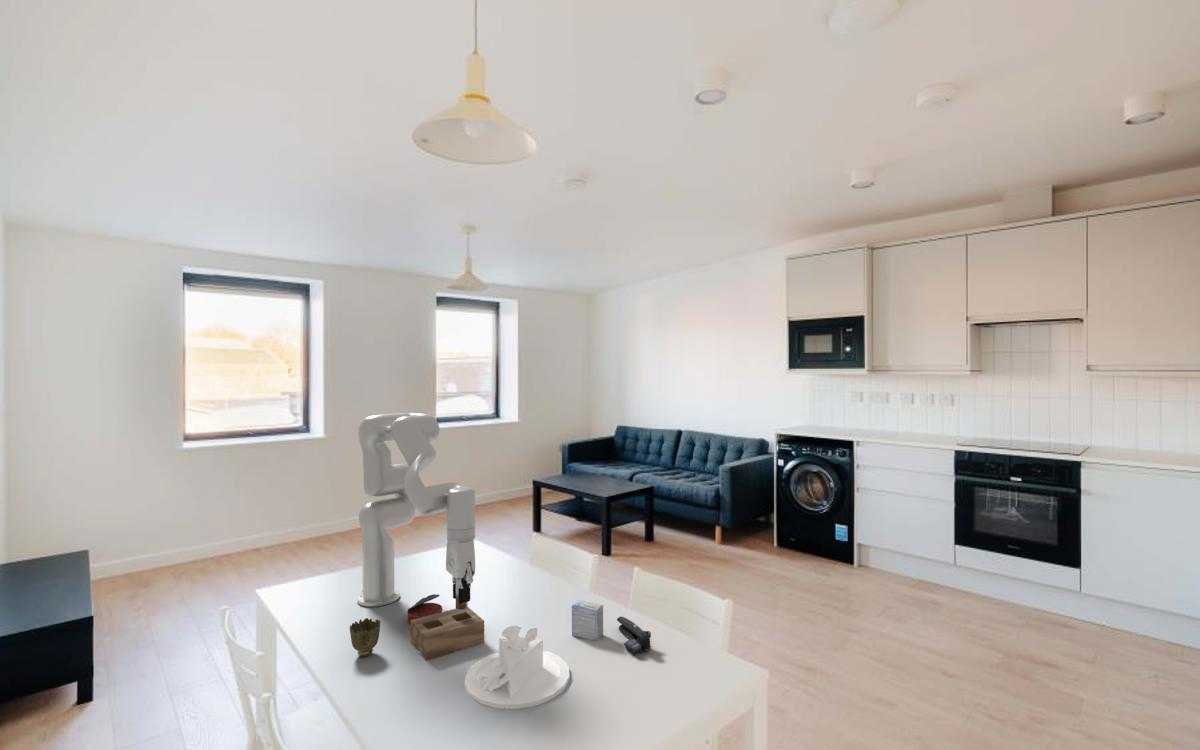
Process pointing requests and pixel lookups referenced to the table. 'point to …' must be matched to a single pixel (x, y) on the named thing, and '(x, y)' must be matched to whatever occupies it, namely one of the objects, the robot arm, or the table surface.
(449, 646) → the hole block
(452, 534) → the robot arm
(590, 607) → the medicine box
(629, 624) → the can opener
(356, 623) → the cup
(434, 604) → the canned food
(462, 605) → the pin
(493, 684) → the dish
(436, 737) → the table surface
